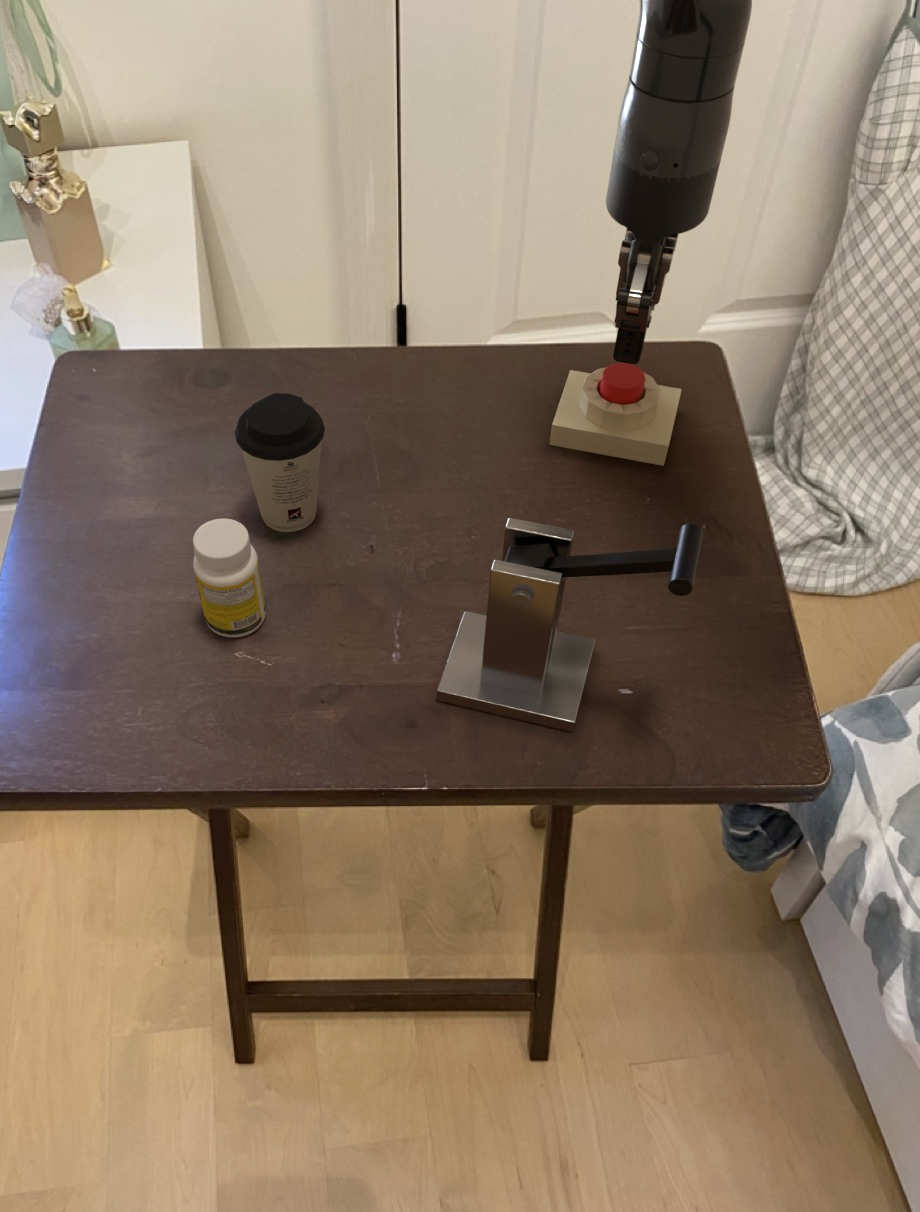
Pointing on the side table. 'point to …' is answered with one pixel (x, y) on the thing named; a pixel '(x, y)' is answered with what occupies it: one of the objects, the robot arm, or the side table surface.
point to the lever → (622, 561)
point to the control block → (615, 420)
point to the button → (622, 384)
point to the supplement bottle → (228, 578)
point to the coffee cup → (282, 459)
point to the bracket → (520, 641)
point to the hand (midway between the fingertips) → (626, 357)
